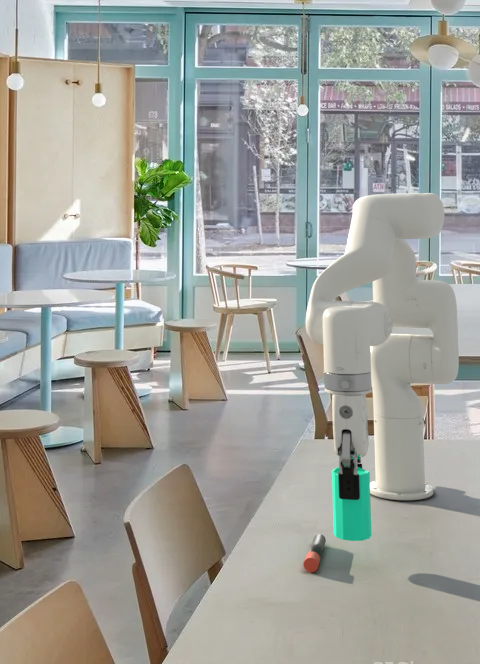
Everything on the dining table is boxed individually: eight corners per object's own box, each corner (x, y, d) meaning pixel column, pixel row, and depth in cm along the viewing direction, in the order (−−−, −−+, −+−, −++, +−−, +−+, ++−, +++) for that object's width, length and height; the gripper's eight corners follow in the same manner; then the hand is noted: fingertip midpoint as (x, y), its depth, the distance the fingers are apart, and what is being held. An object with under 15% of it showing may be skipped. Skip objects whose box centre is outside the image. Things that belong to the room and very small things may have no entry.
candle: (372, 541, 163) (370, 466, 163) (333, 540, 164) (331, 465, 164) (370, 530, 169) (368, 457, 169) (333, 528, 170) (331, 456, 170)
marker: (313, 543, 175) (313, 530, 175) (327, 544, 175) (327, 531, 175) (303, 571, 162) (303, 557, 162) (318, 573, 161) (317, 558, 161)
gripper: (367, 392, 158) (371, 509, 157) (374, 374, 174) (377, 480, 174) (318, 391, 160) (322, 506, 160) (329, 373, 176) (332, 478, 176)
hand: (351, 492), depth 167 cm, fingers closed on candle, 6 cm apart
